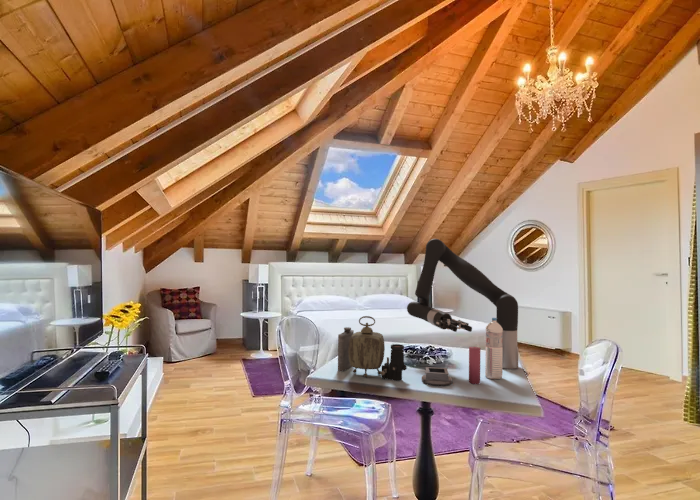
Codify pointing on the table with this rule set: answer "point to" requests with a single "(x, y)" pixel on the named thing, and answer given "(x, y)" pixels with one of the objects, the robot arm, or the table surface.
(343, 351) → the flask
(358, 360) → the tabletop clock
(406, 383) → the table surface
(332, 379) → the table surface
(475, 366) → the candle
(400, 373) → the scope
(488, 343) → the water bottle
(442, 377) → the candle holder
